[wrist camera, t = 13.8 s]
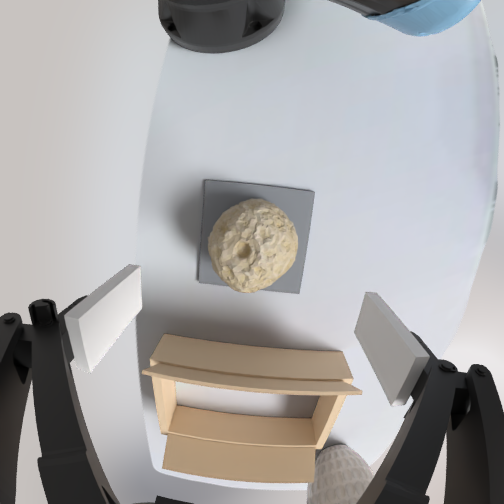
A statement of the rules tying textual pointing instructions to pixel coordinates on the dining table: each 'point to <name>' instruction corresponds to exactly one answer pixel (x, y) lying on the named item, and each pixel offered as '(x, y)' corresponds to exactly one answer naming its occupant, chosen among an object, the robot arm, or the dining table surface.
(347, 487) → the vase
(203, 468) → the carton
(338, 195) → the dining table surface
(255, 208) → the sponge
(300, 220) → the mat
